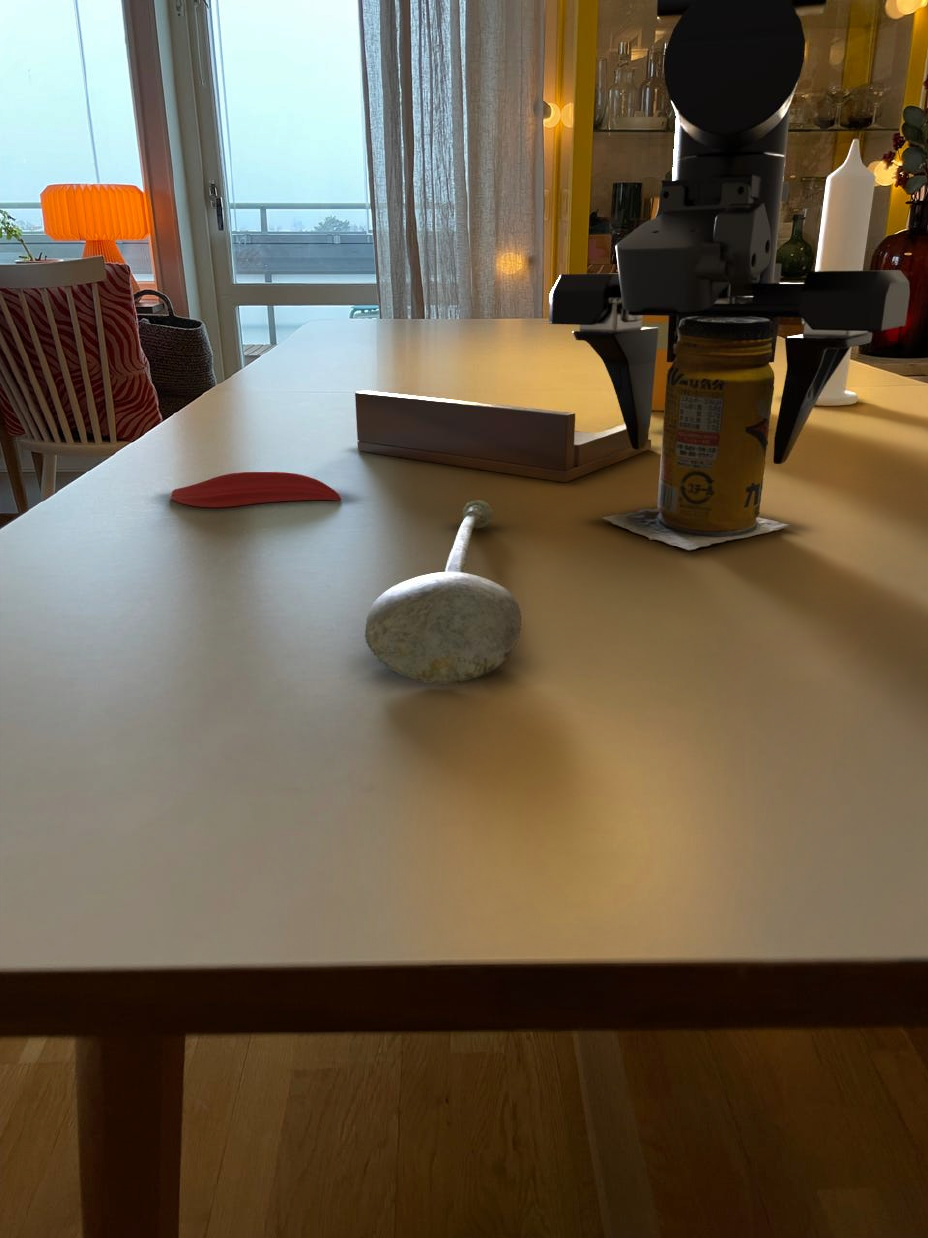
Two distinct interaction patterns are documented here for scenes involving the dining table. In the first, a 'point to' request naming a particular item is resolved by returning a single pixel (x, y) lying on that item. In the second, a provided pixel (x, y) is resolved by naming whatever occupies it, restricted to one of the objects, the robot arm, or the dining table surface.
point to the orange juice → (659, 347)
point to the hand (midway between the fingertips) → (705, 455)
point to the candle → (844, 244)
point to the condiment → (713, 435)
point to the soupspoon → (446, 618)
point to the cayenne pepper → (253, 489)
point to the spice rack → (486, 436)
